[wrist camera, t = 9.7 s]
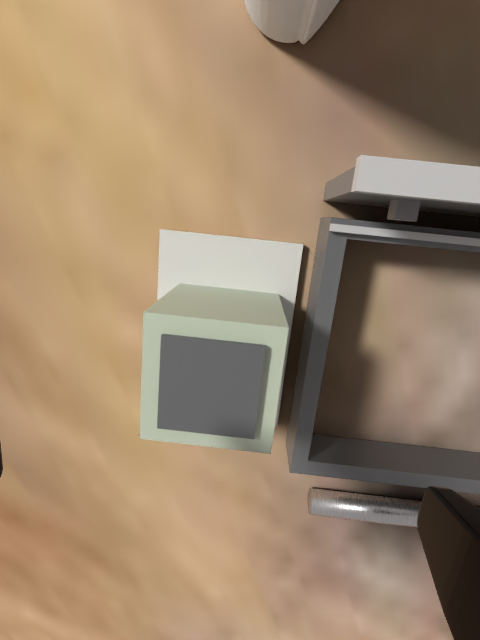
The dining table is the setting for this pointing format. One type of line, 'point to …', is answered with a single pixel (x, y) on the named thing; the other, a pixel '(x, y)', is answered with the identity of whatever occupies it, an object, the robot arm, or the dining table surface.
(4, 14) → the dining table surface
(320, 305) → the case base
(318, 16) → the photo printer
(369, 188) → the case lid open
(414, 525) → the rod
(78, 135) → the dining table surface
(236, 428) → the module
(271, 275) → the pad
